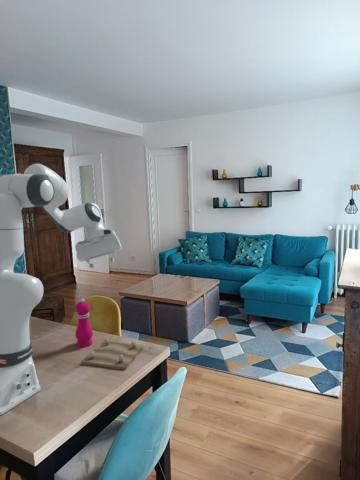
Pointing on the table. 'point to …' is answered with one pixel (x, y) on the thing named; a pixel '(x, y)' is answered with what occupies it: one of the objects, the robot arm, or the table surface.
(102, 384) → the table surface
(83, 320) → the pepper mill
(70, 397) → the table surface
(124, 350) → the pin base
